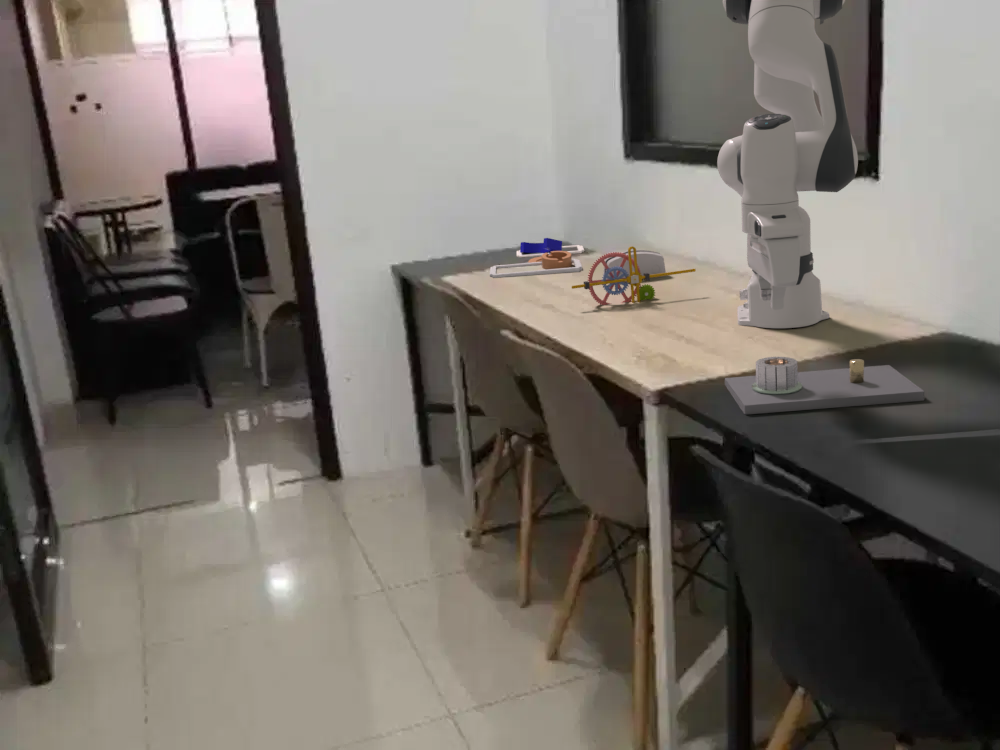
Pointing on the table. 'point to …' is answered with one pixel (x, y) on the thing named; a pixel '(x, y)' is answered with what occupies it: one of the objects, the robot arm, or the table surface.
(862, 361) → the stand rod
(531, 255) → the bin
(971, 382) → the table surface
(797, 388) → the post
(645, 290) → the mechanical gear assembly
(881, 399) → the board
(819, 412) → the table surface
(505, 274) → the bin
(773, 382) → the steel ring
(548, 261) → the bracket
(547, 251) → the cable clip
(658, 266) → the grey rounded block
